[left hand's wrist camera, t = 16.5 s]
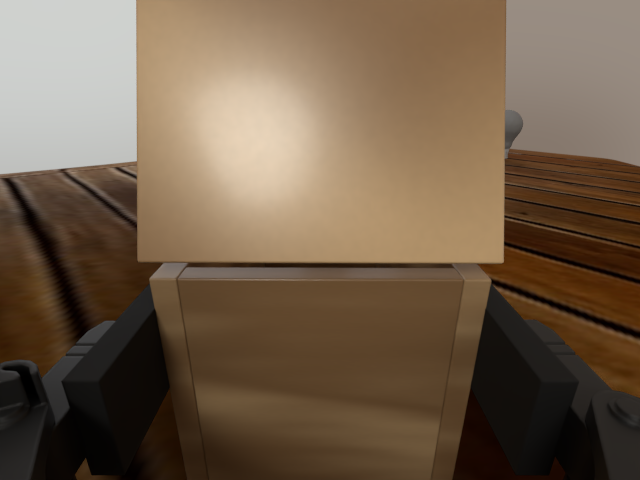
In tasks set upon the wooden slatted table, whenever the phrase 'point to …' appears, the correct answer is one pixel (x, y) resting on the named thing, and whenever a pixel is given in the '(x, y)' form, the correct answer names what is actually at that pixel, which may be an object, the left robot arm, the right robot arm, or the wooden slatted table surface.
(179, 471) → the wooden slatted table surface
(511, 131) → the light bulb
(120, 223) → the wooden slatted table surface
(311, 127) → the lid
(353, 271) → the chest
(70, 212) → the wooden slatted table surface
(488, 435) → the wooden slatted table surface
